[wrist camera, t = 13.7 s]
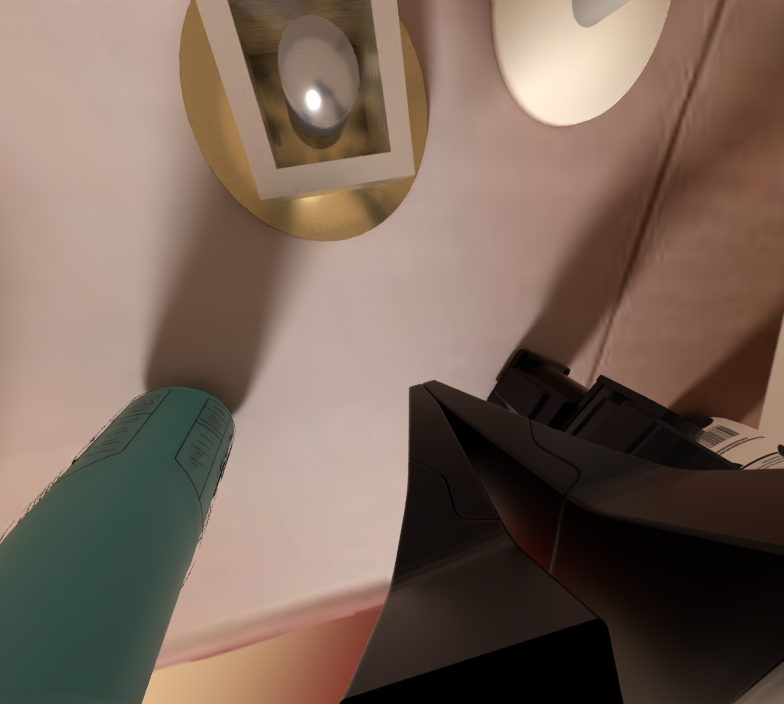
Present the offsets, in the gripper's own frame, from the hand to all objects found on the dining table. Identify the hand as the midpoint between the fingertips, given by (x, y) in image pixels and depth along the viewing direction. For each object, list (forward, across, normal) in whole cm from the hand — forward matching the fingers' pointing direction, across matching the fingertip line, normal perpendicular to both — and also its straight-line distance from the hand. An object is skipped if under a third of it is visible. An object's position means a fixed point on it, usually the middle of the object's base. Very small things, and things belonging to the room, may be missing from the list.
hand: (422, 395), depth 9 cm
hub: (+12, 0, -10) cm, 16 cm away
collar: (+12, 0, -10) cm, 15 cm away
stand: (+12, -16, -14) cm, 24 cm away
